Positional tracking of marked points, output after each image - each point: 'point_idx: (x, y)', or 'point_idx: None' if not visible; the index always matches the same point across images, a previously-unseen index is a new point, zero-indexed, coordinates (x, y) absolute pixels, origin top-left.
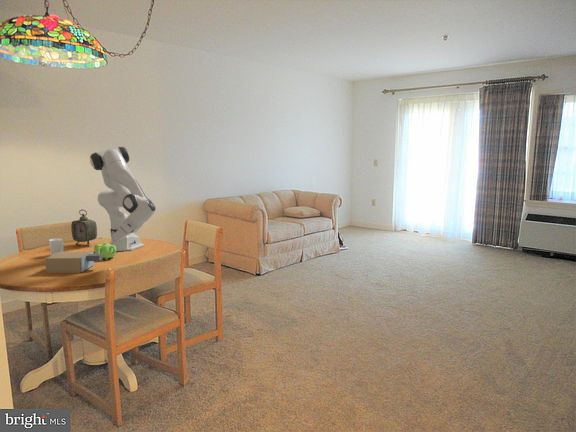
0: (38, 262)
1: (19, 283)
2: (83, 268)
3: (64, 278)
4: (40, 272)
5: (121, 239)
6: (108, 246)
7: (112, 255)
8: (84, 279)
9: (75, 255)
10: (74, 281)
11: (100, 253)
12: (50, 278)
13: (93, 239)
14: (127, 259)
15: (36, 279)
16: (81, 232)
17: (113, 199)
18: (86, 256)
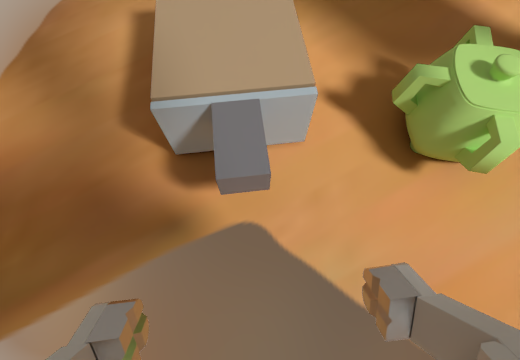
0: None
1: (54, 28)
2: (182, 145)
3: (91, 129)
4: None
5: (417, 333)
6: (480, 110)
7: (454, 160)
8: (56, 224)
9: (216, 50)
10: (31, 194)
11: (411, 105)
12: (101, 81)
13: None
14: (466, 260)
15: (95, 48)
16: None
17: None
18: (212, 108)
